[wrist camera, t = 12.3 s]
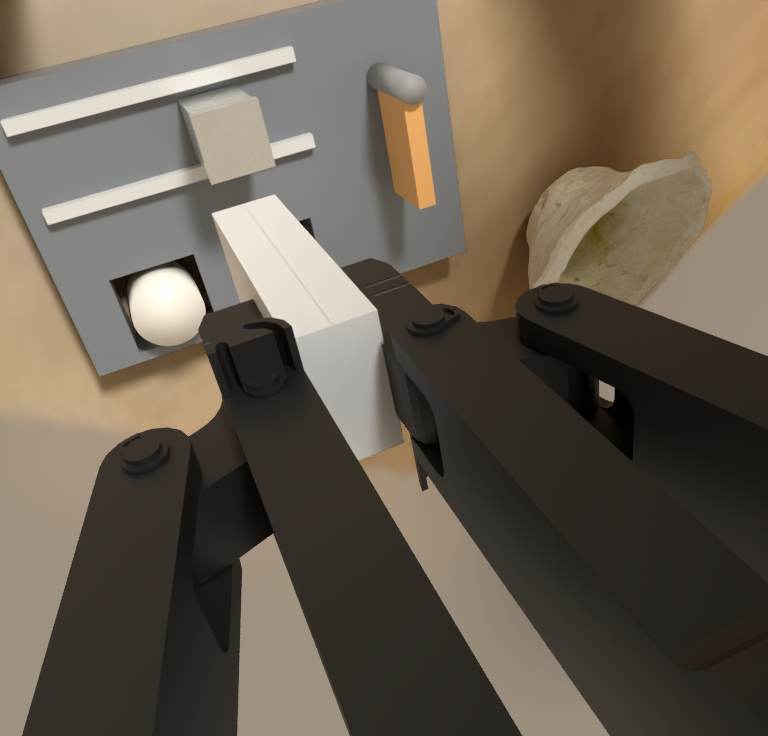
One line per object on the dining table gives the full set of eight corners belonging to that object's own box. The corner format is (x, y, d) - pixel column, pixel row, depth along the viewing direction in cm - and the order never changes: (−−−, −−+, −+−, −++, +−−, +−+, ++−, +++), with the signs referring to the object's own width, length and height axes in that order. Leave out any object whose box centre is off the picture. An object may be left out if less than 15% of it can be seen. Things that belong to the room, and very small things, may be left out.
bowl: (518, 352, 57) (596, 419, 49) (438, 215, 48) (516, 269, 40) (669, 235, 57) (771, 283, 49) (615, 79, 48) (728, 105, 40)
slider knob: (174, 97, 36) (189, 116, 32) (235, 81, 37) (258, 98, 33) (194, 159, 38) (211, 185, 34) (252, 143, 39) (275, 166, 35)
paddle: (364, 66, 39) (398, 79, 35) (388, 60, 40) (424, 72, 36) (386, 189, 43) (419, 212, 39) (407, 182, 43) (442, 205, 40)
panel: (-30, 86, 35) (-37, 96, 33) (415, -23, 41) (438, -21, 38) (97, 357, 44) (99, 381, 42) (449, 238, 49) (470, 254, 47)
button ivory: (116, 271, 42) (120, 294, 39) (184, 251, 42) (192, 271, 40) (141, 330, 44) (146, 355, 41) (205, 309, 45) (214, 332, 42)
